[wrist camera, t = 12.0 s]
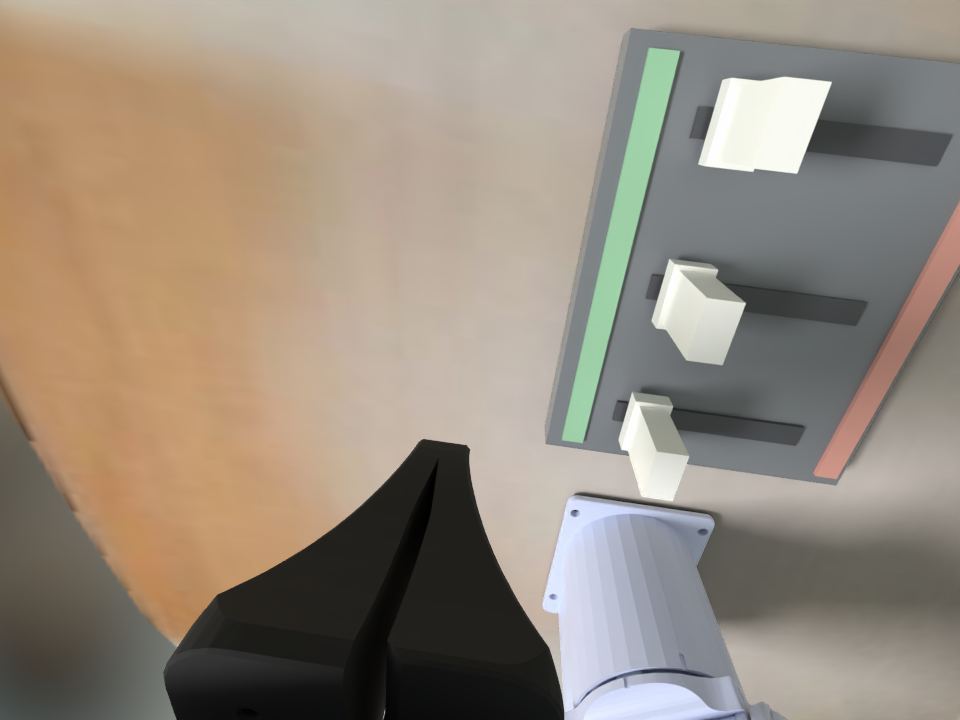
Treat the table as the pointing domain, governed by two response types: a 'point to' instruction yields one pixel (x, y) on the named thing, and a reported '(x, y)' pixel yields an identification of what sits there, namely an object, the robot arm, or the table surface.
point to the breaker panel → (763, 254)
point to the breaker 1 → (653, 445)
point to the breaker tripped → (697, 311)
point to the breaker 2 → (763, 123)
